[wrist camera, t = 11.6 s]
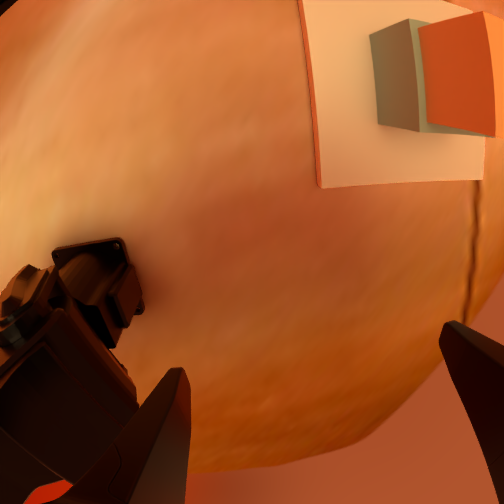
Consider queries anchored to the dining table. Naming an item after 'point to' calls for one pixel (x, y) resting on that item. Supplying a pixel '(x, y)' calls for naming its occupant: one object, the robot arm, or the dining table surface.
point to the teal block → (403, 79)
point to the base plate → (372, 100)
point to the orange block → (465, 72)
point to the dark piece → (6, 5)
